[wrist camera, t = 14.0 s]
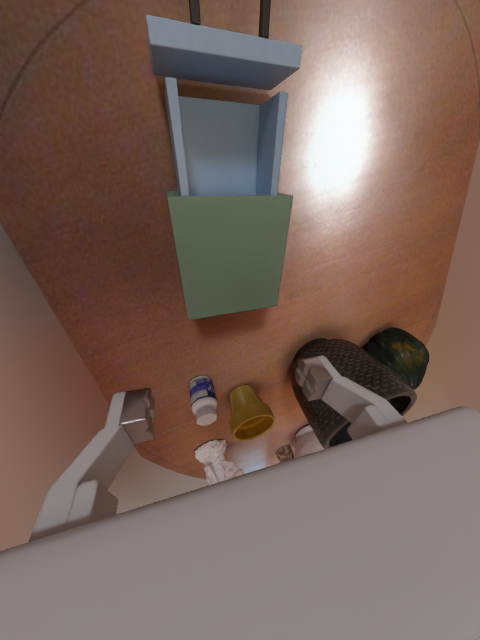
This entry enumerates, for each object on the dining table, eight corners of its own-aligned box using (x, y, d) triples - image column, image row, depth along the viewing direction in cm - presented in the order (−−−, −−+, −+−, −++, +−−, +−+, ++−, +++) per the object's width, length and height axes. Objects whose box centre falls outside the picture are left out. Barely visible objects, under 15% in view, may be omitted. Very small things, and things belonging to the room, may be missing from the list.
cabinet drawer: (128, -79, 14) (110, -210, 9) (279, -34, 17) (326, -116, 12) (175, 216, 25) (178, 227, 20) (261, 213, 27) (282, 222, 23)
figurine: (278, 447, 85) (292, 481, 76) (292, 443, 87) (307, 475, 78) (273, 455, 89) (286, 488, 80) (287, 451, 91) (301, 482, 82)
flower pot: (266, 379, 53) (283, 414, 45) (250, 403, 58) (263, 438, 50) (230, 378, 48) (243, 417, 41) (217, 405, 53) (226, 444, 45)
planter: (331, 308, 44) (414, 376, 30) (354, 346, 56) (421, 408, 42) (262, 362, 48) (306, 446, 33) (298, 387, 60) (341, 456, 46)
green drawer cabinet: (165, 190, 24) (167, 197, 18) (265, 190, 27) (293, 195, 21) (183, 292, 32) (188, 320, 26) (257, 283, 35) (277, 306, 29)
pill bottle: (214, 384, 48) (223, 420, 41) (193, 393, 47) (198, 430, 40) (207, 371, 44) (216, 408, 37) (184, 380, 44) (188, 419, 37)
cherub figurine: (218, 432, 62) (237, 519, 47) (239, 440, 70) (261, 516, 54) (186, 454, 64) (193, 544, 48) (210, 459, 71) (223, 538, 56)
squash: (433, 323, 50) (447, 374, 41) (412, 357, 60) (420, 405, 51) (367, 316, 57) (367, 359, 48) (358, 348, 67) (356, 389, 58)
